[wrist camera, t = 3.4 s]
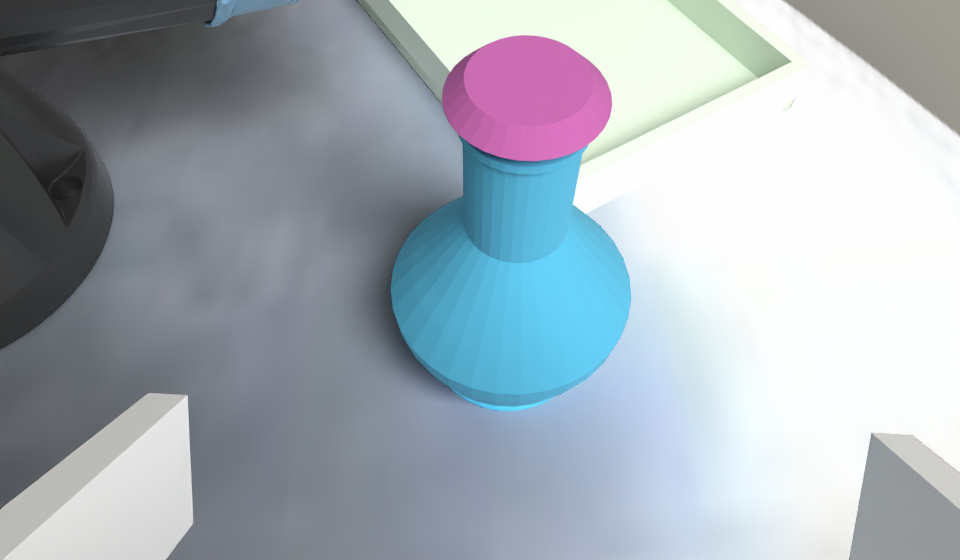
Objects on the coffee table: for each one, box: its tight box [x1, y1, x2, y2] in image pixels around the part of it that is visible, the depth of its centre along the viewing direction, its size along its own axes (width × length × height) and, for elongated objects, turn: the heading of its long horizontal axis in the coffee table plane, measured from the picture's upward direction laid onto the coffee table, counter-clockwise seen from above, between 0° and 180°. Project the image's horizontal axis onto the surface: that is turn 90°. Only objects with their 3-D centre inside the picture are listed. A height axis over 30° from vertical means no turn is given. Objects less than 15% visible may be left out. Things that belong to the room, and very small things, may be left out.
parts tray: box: [357, 0, 812, 214], centre depth 41 cm, size 21×16×3 cm
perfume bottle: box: [391, 35, 631, 411], centre depth 26 cm, size 9×9×15 cm
